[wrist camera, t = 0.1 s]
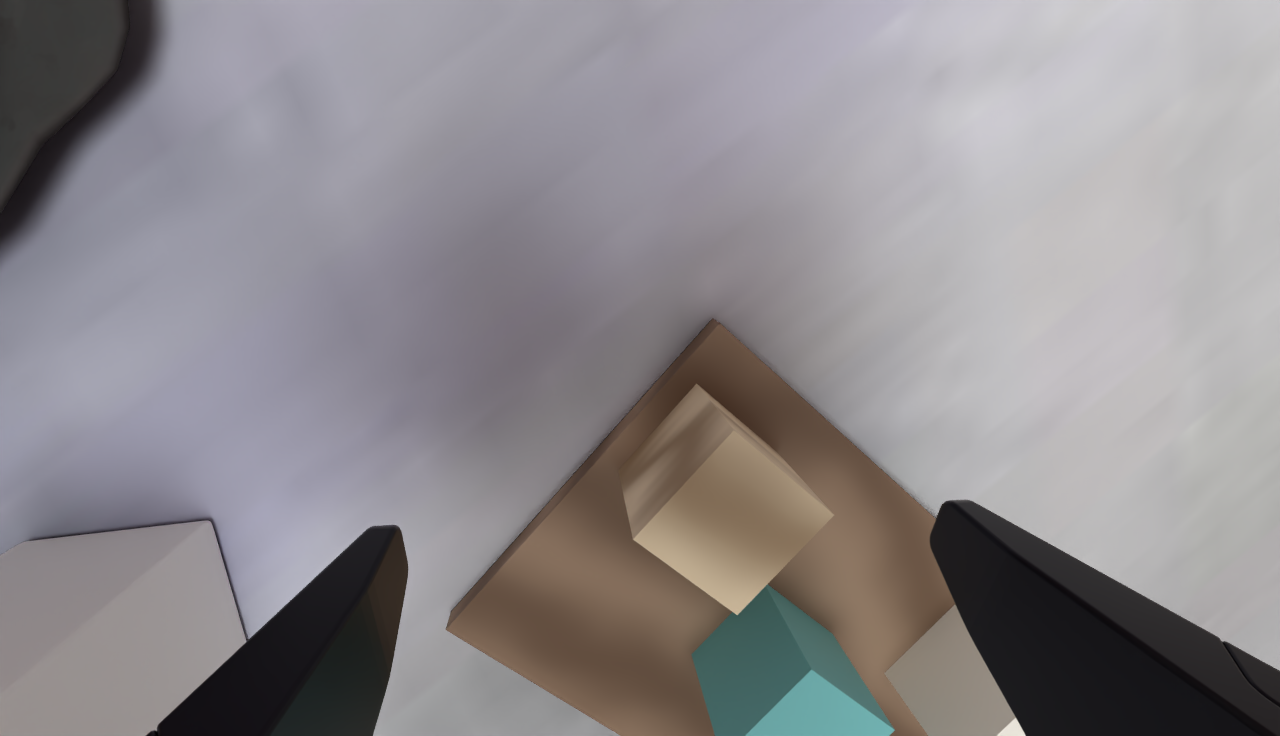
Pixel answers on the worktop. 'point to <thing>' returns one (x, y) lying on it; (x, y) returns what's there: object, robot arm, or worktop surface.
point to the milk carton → (111, 629)
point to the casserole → (51, 71)
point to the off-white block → (951, 684)
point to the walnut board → (671, 604)
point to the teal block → (782, 676)
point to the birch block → (717, 501)
